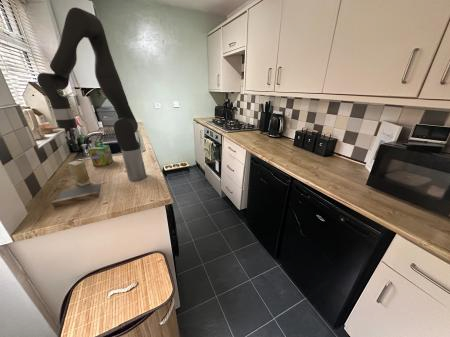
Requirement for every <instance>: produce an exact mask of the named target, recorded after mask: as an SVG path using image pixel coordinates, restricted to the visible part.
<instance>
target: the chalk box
mask: <svg viewBox="0 0 450 337" xmlns="http://www.w3.org/2000/svg"><path fill="white" fill-rule="evenodd" d="M93 144H94V146H92V147H90V148H88V152H89V156H90V158H91V159H90V160H91V163H92V166H93V167H98V166H99V167H100V166H101V167H102V166H109V165H110V164H111V163H112V162H113V161H114V159H113V155H112V151H111V148H110V145H109V144H104V142H103V141H94V143H93Z"/></svg>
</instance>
